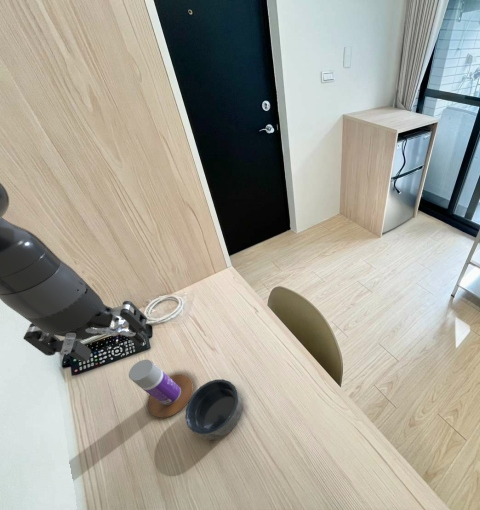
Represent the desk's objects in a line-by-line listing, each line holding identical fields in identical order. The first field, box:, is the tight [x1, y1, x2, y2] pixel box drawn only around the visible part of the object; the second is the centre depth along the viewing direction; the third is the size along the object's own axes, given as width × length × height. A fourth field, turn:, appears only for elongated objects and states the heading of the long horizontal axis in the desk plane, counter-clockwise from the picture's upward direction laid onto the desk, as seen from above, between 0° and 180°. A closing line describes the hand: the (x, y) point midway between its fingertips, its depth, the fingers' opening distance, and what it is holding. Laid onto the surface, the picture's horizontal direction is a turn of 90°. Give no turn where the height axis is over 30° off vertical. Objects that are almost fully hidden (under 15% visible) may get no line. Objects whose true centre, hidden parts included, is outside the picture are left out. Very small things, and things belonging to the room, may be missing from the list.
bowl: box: [184, 378, 244, 441], centre depth 63 cm, size 11×11×6 cm
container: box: [128, 359, 181, 405], centre depth 62 cm, size 5×5×15 cm
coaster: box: [148, 373, 194, 419], centre depth 67 cm, size 10×10×1 cm
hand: (115, 349), depth 50 cm, fingers open, 8 cm apart
